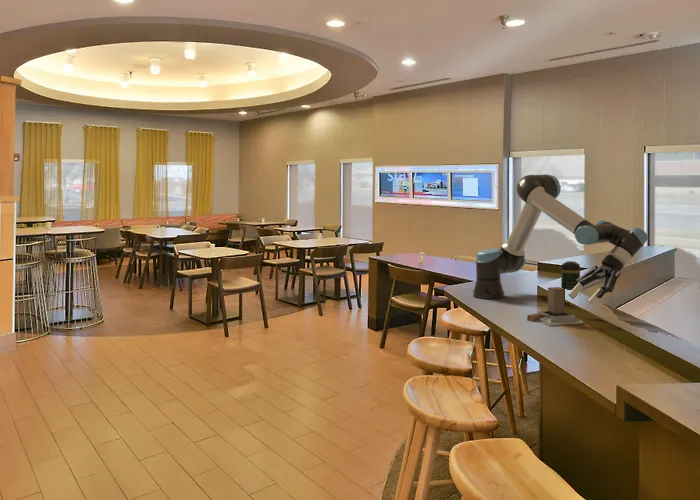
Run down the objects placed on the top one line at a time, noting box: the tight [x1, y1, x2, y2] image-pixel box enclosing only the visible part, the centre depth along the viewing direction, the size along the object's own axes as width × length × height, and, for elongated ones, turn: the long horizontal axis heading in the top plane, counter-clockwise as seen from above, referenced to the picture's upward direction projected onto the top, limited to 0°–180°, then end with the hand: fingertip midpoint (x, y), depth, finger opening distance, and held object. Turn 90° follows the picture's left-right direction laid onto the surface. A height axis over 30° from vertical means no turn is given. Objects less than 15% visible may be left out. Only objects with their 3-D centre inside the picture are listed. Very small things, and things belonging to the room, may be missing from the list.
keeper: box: [536, 310, 584, 327], centre depth 201 cm, size 14×14×3 cm
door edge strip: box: [526, 312, 540, 322], centre depth 207 cm, size 2×16×2 cm, turn 120°
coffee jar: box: [560, 260, 581, 290], centre depth 236 cm, size 10×8×19 cm
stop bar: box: [547, 286, 566, 316], centre depth 201 cm, size 4×4×12 cm
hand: (580, 299), depth 202 cm, fingers open, 13 cm apart
